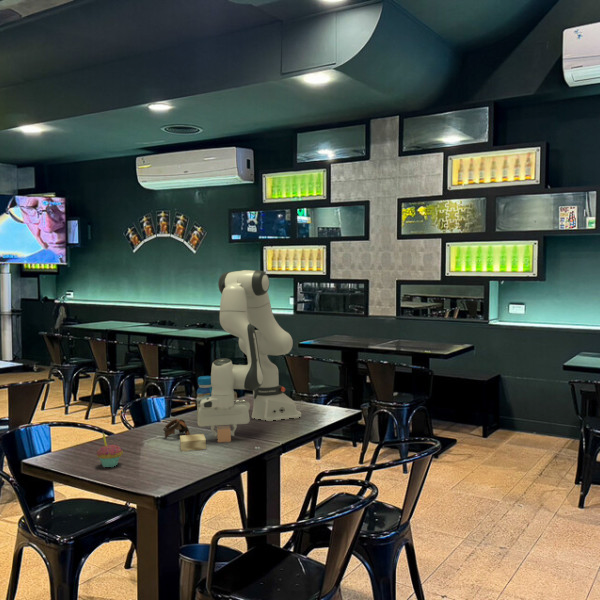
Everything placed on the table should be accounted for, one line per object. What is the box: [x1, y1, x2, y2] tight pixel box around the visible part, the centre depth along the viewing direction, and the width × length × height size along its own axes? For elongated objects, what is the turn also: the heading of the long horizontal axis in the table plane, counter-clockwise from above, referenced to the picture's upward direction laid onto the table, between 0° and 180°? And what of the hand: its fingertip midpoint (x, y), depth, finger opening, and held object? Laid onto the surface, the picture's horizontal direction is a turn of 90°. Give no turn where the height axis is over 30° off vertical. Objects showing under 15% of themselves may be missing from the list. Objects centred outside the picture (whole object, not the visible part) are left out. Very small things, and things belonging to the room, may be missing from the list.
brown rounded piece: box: [163, 418, 191, 438], centre depth 252 cm, size 12×10×8 cm
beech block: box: [179, 433, 207, 452], centre depth 236 cm, size 9×9×4 cm
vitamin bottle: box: [196, 375, 212, 420], centre depth 274 cm, size 8×8×20 cm
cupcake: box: [96, 432, 124, 468], centre depth 215 cm, size 9×8×12 cm
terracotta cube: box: [216, 425, 232, 443], centre depth 245 cm, size 5×5×5 cm
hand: (223, 436), depth 245 cm, fingers closed on terracotta cube, 5 cm apart
